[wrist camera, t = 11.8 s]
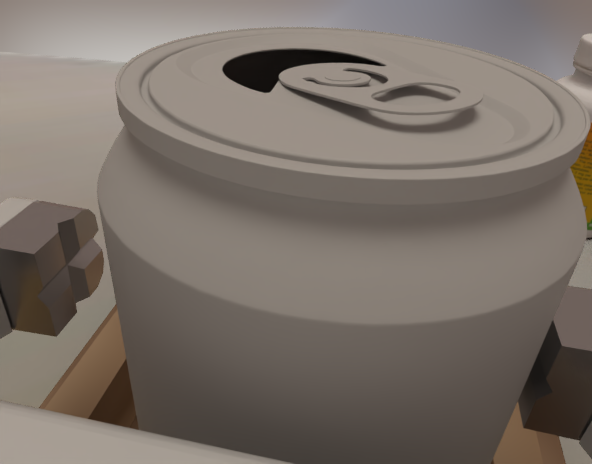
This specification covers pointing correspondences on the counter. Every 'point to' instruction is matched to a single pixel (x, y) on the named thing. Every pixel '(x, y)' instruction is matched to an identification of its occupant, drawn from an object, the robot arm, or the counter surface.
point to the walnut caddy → (121, 410)
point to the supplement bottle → (588, 88)
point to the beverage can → (338, 241)
